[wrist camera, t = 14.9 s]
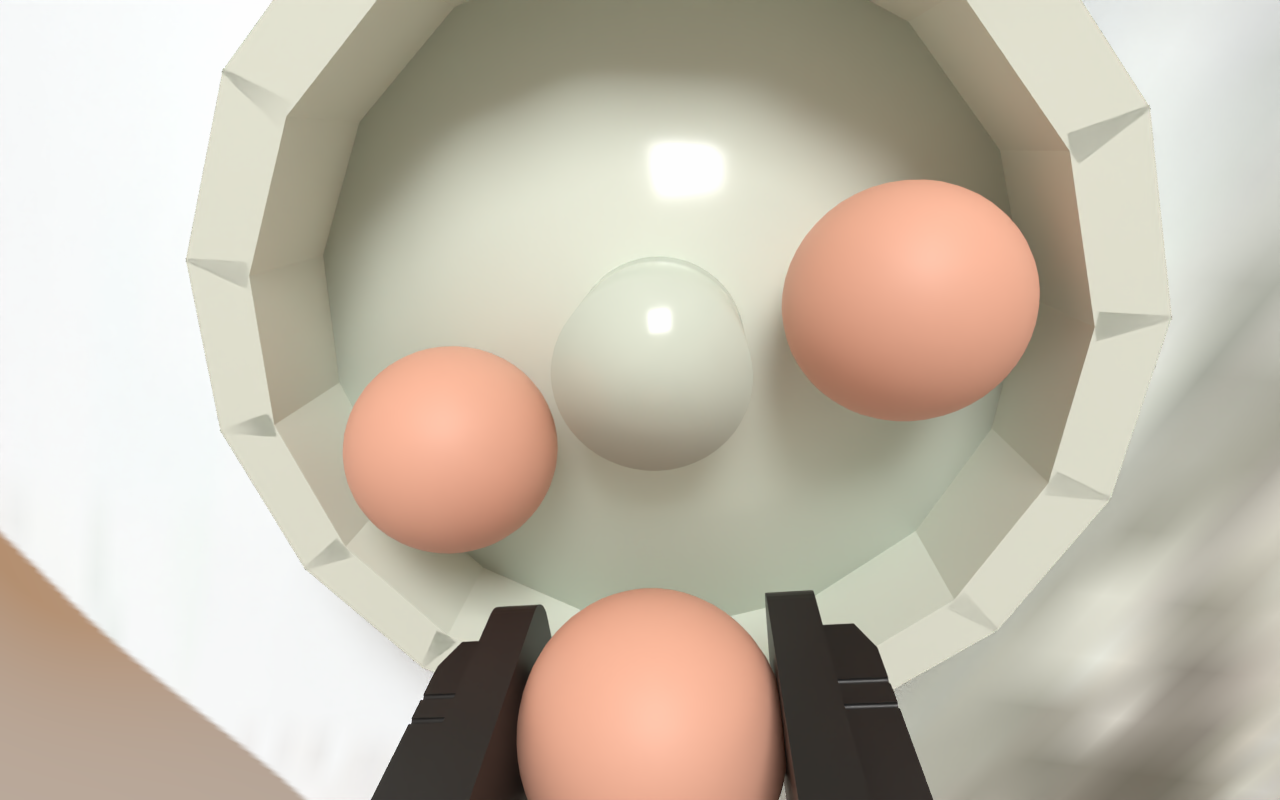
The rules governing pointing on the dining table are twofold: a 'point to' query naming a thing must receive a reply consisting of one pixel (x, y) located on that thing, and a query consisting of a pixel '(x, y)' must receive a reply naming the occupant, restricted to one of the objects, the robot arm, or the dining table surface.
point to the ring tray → (674, 293)
